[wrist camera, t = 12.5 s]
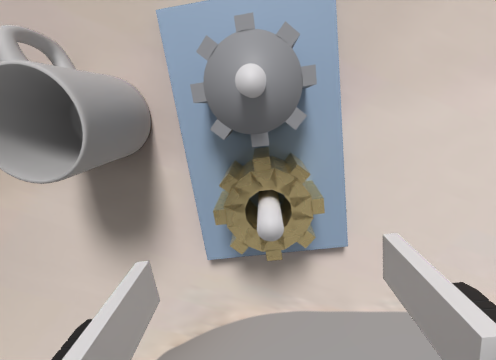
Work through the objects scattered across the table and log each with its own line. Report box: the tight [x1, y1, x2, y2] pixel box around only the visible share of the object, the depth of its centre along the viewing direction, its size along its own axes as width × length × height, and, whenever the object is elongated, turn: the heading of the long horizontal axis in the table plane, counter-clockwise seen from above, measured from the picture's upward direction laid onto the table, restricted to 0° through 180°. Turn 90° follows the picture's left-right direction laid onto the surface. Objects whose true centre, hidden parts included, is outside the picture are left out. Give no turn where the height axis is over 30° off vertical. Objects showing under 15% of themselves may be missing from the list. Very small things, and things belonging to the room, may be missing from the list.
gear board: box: [156, 0, 348, 260], centre depth 23 cm, size 16×26×10 cm, turn 8°
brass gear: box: [213, 147, 325, 261], centre depth 26 cm, size 10×10×6 cm
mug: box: [0, 25, 151, 184], centre depth 23 cm, size 12×8×11 cm
